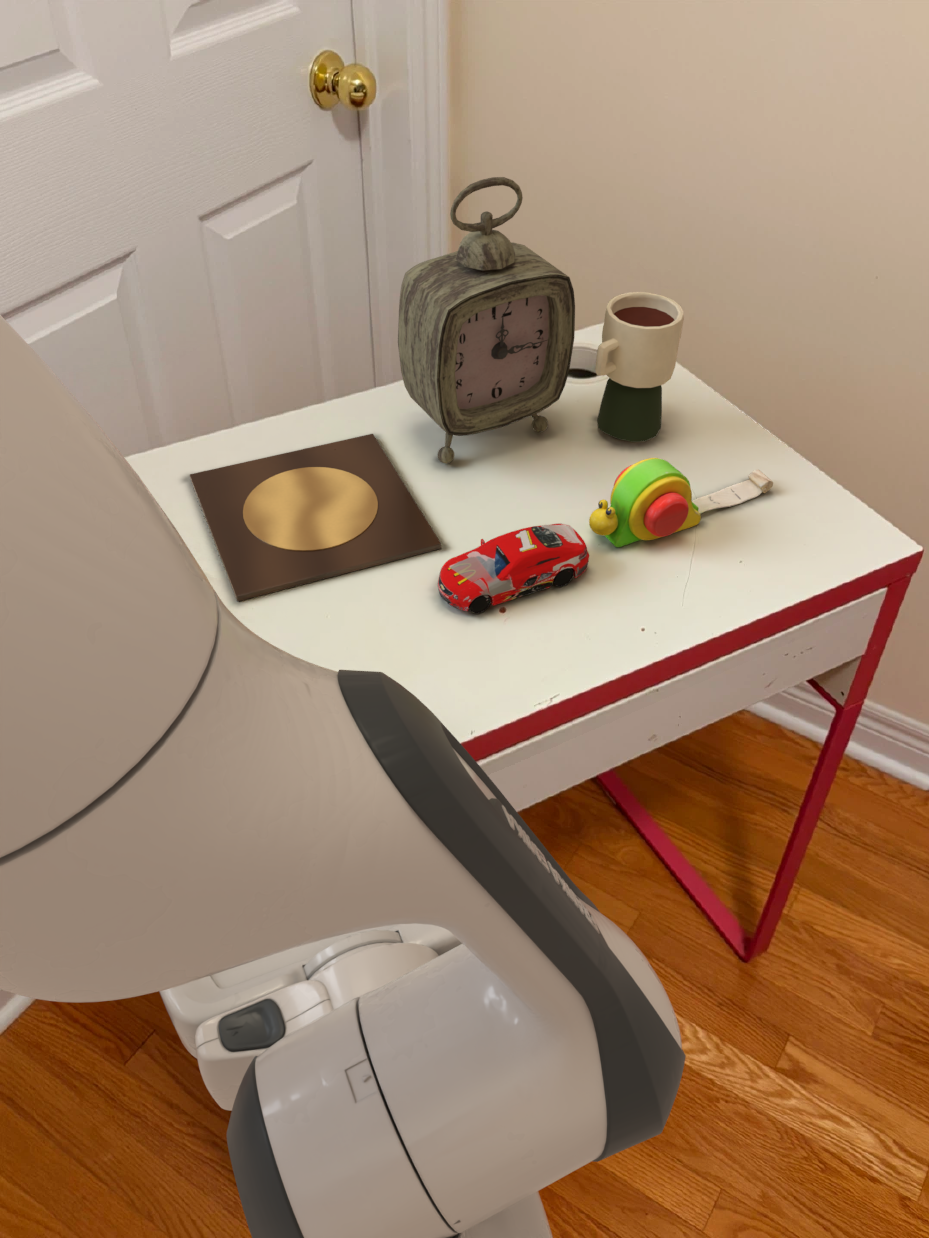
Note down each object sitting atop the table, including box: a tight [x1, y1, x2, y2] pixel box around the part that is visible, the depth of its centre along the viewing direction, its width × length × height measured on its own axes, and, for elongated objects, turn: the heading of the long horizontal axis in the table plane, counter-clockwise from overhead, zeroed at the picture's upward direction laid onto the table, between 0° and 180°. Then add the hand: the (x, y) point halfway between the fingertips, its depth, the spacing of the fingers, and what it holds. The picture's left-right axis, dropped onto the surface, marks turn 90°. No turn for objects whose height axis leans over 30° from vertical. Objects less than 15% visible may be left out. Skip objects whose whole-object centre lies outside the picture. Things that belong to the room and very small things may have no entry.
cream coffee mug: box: [594, 291, 685, 443], centre depth 100 cm, size 11×7×13 cm, turn 128°
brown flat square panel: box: [189, 433, 442, 602], centre depth 94 cm, size 18×18×1 cm
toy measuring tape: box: [588, 457, 774, 548], centre depth 92 cm, size 6×20×7 cm, turn 117°
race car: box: [437, 523, 590, 614], centre depth 87 cm, size 13×5×4 cm, turn 114°
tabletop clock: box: [397, 176, 576, 465], centre depth 95 cm, size 14×9×25 cm, turn 120°
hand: (298, 814), depth 63 cm, fingers open, 8 cm apart
